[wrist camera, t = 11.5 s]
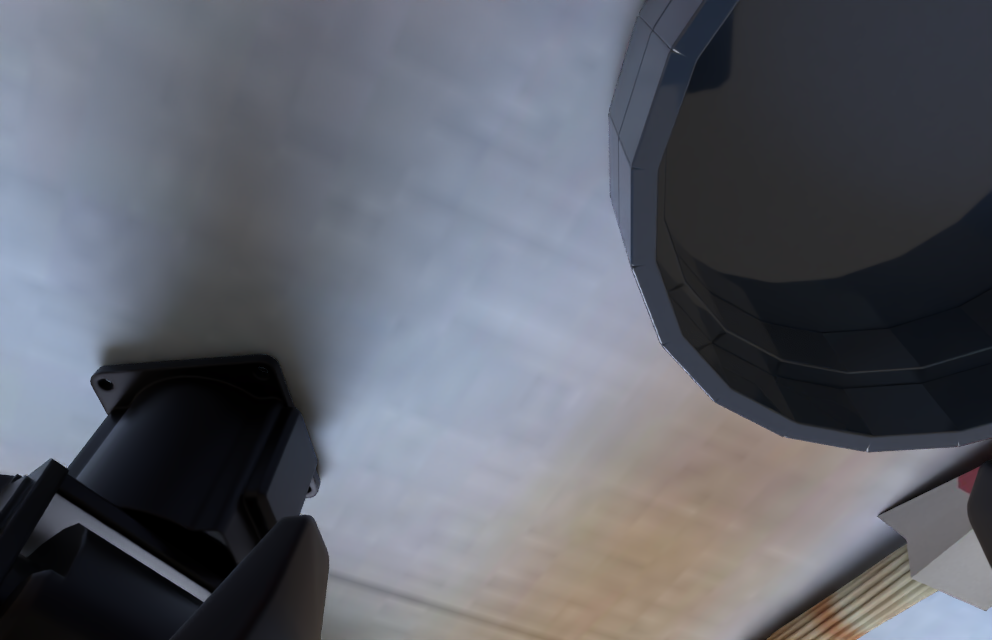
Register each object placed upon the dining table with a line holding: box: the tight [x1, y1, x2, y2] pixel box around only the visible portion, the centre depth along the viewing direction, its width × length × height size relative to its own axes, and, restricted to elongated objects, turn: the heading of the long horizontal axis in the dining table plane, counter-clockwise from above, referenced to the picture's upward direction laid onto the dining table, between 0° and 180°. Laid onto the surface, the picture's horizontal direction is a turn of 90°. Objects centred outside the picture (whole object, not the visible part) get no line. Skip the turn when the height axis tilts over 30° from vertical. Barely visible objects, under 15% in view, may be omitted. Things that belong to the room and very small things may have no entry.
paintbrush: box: [766, 467, 992, 640], centre depth 26 cm, size 4×3×20 cm
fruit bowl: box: [608, 0, 992, 452], centre depth 16 cm, size 15×15×4 cm
